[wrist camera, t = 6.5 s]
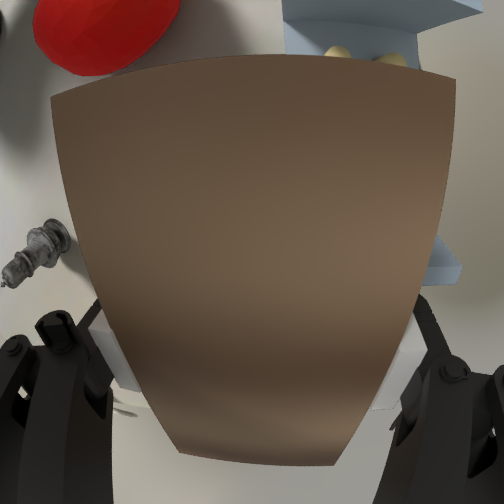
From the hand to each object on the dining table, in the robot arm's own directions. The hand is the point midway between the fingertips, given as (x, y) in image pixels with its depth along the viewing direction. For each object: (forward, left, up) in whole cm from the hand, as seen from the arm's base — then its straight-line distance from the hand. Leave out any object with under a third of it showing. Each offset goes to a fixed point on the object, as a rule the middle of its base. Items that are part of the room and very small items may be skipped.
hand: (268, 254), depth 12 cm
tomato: (-17, -13, -17) cm, 27 cm away
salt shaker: (+7, -30, -17) cm, 35 cm away
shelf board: (0, 0, +3) cm, 3 cm away
